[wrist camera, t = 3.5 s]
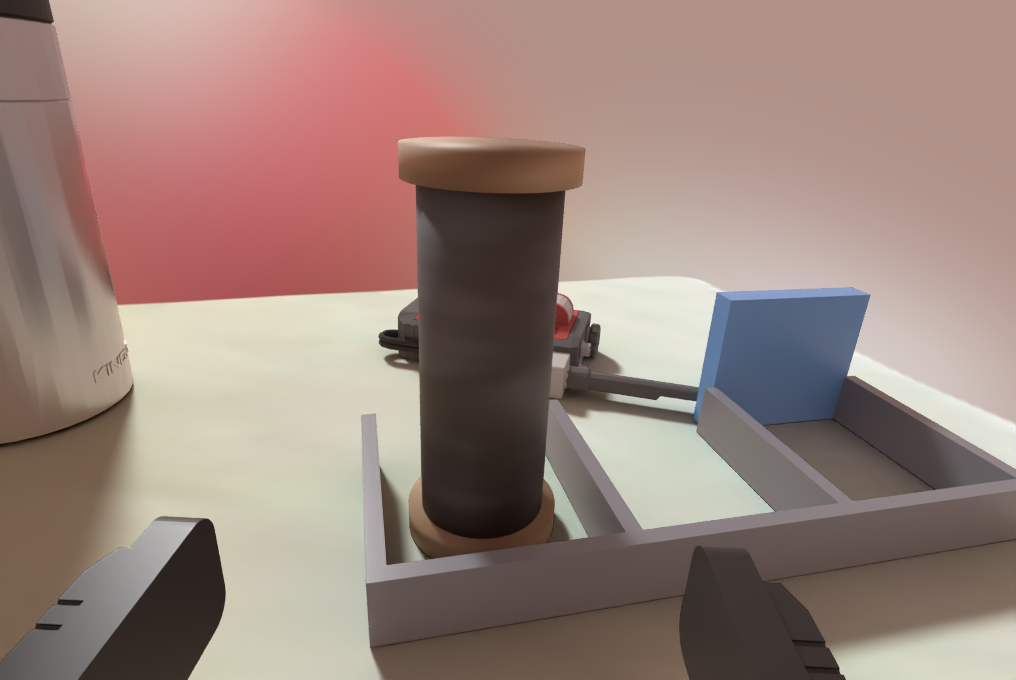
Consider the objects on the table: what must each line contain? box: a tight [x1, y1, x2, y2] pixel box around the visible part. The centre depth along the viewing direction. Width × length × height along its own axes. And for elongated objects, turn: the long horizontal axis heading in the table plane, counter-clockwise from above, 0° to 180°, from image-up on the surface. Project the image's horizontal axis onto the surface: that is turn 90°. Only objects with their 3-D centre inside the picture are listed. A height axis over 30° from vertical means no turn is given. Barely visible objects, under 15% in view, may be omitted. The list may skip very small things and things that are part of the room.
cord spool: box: [398, 137, 585, 559], centre depth 21 cm, size 6×6×14 cm
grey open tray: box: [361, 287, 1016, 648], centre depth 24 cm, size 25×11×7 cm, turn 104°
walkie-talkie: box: [379, 293, 699, 401], centre depth 36 cm, size 9×4×20 cm
